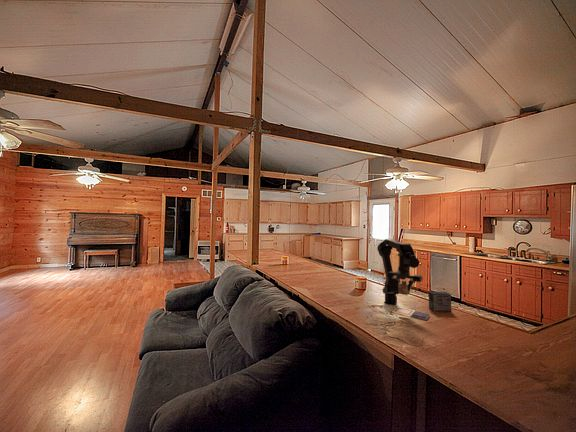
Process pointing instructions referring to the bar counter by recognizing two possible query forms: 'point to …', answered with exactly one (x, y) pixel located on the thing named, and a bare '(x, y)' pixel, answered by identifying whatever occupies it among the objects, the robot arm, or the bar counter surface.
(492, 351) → the bar counter surface
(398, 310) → the print sheet
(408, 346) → the bar counter surface
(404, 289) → the stamp
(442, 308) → the small box
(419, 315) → the ink pad
